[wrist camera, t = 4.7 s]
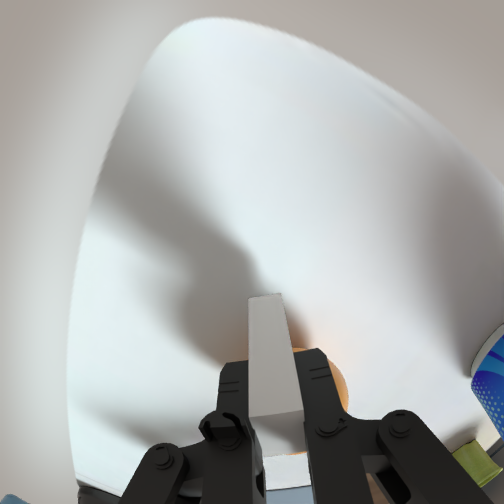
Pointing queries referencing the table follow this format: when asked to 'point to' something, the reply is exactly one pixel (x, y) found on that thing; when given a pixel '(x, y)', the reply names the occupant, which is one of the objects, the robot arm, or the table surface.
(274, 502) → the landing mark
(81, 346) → the table surface
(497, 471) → the plant pot
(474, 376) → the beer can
